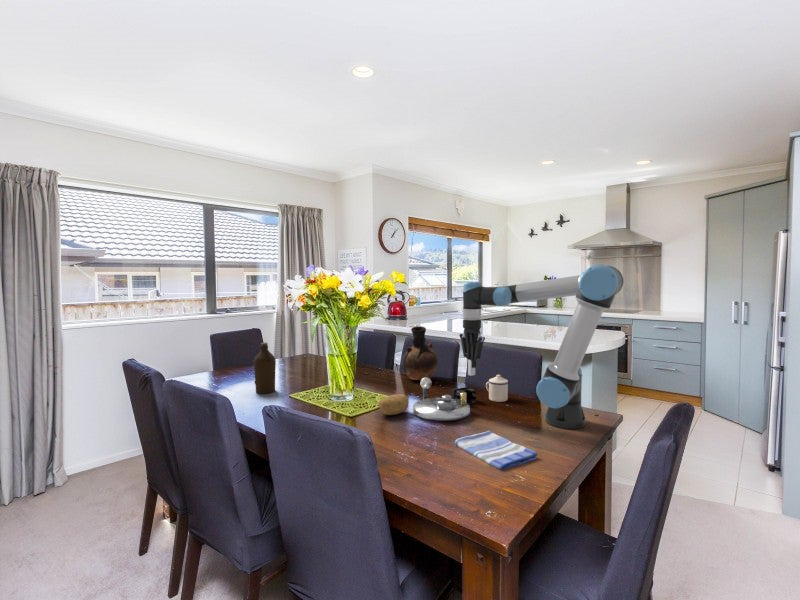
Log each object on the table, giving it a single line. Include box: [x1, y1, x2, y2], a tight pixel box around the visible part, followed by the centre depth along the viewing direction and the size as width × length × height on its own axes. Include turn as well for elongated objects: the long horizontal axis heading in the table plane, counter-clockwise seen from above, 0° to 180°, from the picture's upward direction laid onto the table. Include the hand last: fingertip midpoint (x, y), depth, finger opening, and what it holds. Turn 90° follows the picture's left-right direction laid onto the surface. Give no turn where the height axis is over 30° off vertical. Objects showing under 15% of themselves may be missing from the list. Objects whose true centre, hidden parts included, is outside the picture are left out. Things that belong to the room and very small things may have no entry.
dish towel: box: [454, 430, 538, 471], centre depth 142 cm, size 17×24×3 cm
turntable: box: [412, 392, 471, 422], centre depth 179 cm, size 24×24×7 cm
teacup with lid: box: [485, 374, 509, 403], centre depth 201 cm, size 12×9×12 cm
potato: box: [377, 393, 409, 416], centre depth 179 cm, size 10×14×8 cm
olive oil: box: [253, 342, 277, 395], centre depth 214 cm, size 11×11×25 cm
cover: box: [437, 394, 456, 411], centre depth 177 cm, size 8×8×5 cm
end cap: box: [450, 385, 477, 405], centre depth 195 cm, size 10×7×7 cm
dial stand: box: [419, 377, 432, 400], centre depth 193 cm, size 4×5×12 cm
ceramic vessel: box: [401, 325, 439, 381], centre depth 237 cm, size 21×18×30 cm
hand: (471, 374), depth 177 cm, fingers closed
